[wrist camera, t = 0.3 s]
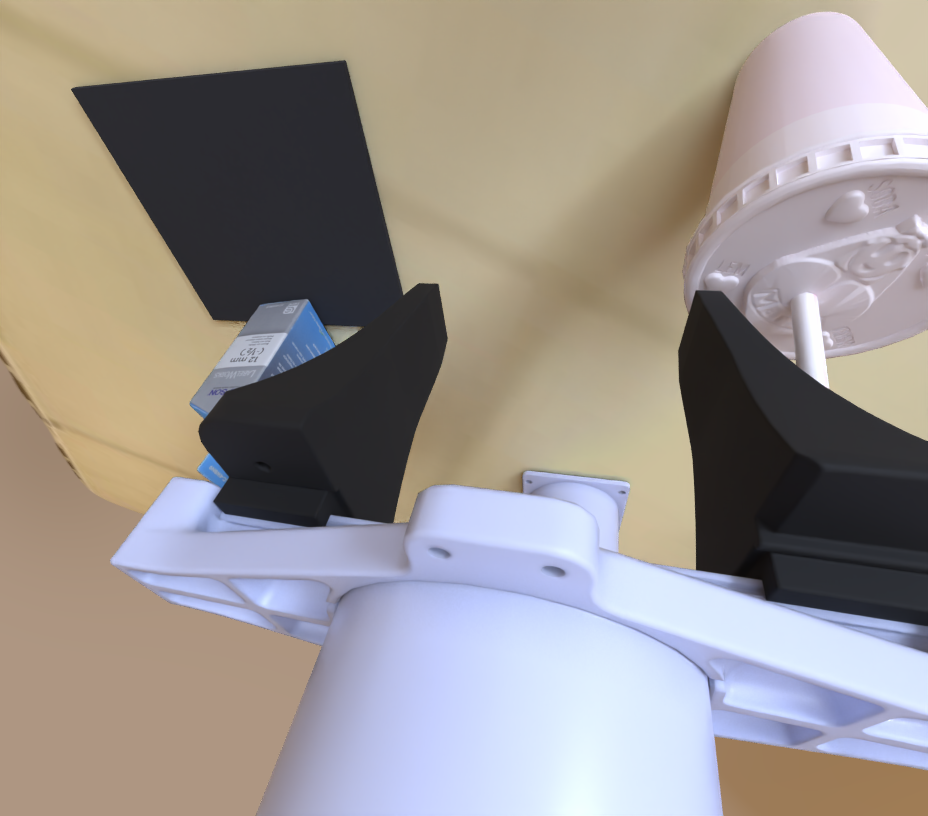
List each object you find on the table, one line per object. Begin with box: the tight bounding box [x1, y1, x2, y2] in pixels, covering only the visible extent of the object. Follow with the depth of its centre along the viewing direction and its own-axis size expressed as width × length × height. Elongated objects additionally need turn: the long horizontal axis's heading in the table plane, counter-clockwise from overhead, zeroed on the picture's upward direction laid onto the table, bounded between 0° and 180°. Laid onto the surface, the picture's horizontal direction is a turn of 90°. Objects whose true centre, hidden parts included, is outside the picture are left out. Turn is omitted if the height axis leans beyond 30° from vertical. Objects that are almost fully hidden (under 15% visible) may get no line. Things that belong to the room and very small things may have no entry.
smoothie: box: [682, 12, 928, 389], centre depth 13 cm, size 6×6×14 cm
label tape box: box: [190, 299, 335, 488], centre depth 28 cm, size 9×4×12 cm, turn 13°
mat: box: [71, 60, 403, 327], centre depth 25 cm, size 13×14×1 cm
